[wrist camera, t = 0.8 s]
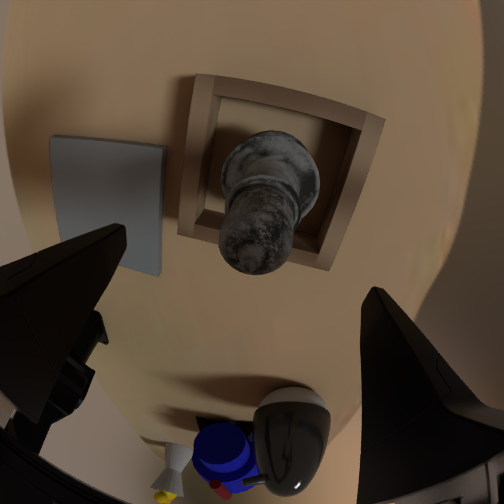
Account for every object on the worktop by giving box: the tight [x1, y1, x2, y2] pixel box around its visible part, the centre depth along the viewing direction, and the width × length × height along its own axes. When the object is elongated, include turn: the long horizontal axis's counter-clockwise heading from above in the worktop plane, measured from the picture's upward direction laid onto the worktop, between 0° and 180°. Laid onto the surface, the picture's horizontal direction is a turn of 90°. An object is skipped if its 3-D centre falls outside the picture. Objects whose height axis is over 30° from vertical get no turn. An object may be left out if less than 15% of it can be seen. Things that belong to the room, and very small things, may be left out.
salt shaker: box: [219, 131, 320, 275], centre depth 14 cm, size 6×6×12 cm
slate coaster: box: [49, 135, 167, 277], centre depth 22 cm, size 12×12×1 cm
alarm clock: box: [192, 417, 259, 500], centre depth 40 cm, size 12×12×15 cm
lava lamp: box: [151, 442, 193, 504], centre depth 48 cm, size 9×9×35 cm
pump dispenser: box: [241, 387, 331, 497], centre depth 29 cm, size 10×10×15 cm
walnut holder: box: [177, 74, 386, 271], centre depth 18 cm, size 11×11×2 cm
